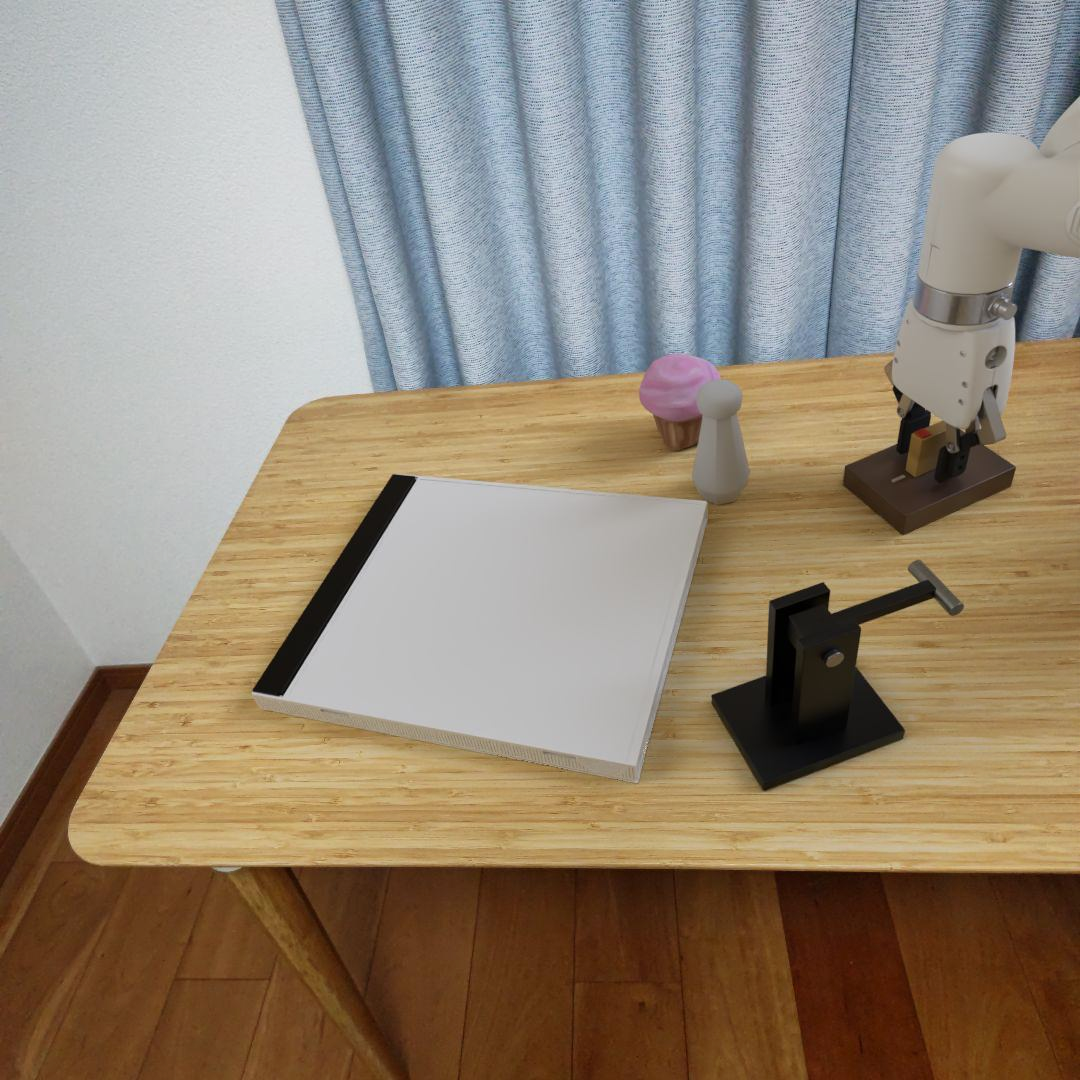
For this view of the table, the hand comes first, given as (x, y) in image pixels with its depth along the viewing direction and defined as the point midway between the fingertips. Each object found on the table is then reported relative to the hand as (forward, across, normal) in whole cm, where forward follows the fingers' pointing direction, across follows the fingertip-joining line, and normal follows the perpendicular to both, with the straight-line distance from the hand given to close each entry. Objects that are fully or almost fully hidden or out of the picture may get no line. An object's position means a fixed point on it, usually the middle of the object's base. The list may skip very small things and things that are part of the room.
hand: (929, 460), depth 88 cm
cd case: (+3, +7, +44) cm, 45 cm away
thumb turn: (+1, 0, 0) cm, 1 cm away
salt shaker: (+3, +10, +17) cm, 20 cm away
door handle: (-7, -18, +22) cm, 29 cm away
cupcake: (+3, +21, +16) cm, 26 cm away
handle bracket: (+3, -17, +27) cm, 32 cm away
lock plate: (+3, 0, 0) cm, 3 cm away
